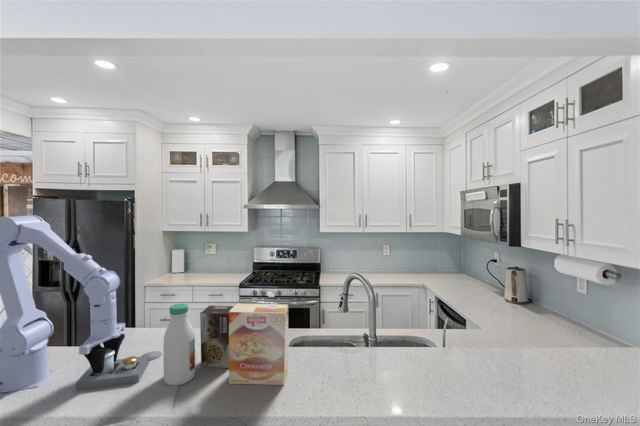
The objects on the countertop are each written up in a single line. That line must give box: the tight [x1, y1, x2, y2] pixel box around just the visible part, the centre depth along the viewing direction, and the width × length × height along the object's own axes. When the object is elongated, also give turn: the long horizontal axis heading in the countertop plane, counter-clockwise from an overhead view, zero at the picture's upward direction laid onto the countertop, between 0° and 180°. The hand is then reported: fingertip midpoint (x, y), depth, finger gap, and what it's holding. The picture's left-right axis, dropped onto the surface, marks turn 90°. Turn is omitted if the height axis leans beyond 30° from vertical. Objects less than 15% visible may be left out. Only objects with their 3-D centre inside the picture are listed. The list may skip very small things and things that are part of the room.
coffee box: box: [199, 305, 235, 369], centre depth 90 cm, size 9×6×16 cm
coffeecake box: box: [228, 303, 289, 386], centre depth 83 cm, size 15×7×20 cm, turn 88°
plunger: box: [122, 355, 137, 370], centre depth 84 cm, size 3×3×4 cm
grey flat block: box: [75, 356, 150, 392], centre depth 83 cm, size 14×10×2 cm
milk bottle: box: [163, 303, 196, 386], centre depth 82 cm, size 8×8×20 cm
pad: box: [140, 350, 163, 362], centre depth 93 cm, size 6×6×1 cm
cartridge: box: [96, 349, 115, 376], centre depth 82 cm, size 5×5×7 cm
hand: (104, 367), depth 82 cm, fingers closed on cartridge, 4 cm apart
